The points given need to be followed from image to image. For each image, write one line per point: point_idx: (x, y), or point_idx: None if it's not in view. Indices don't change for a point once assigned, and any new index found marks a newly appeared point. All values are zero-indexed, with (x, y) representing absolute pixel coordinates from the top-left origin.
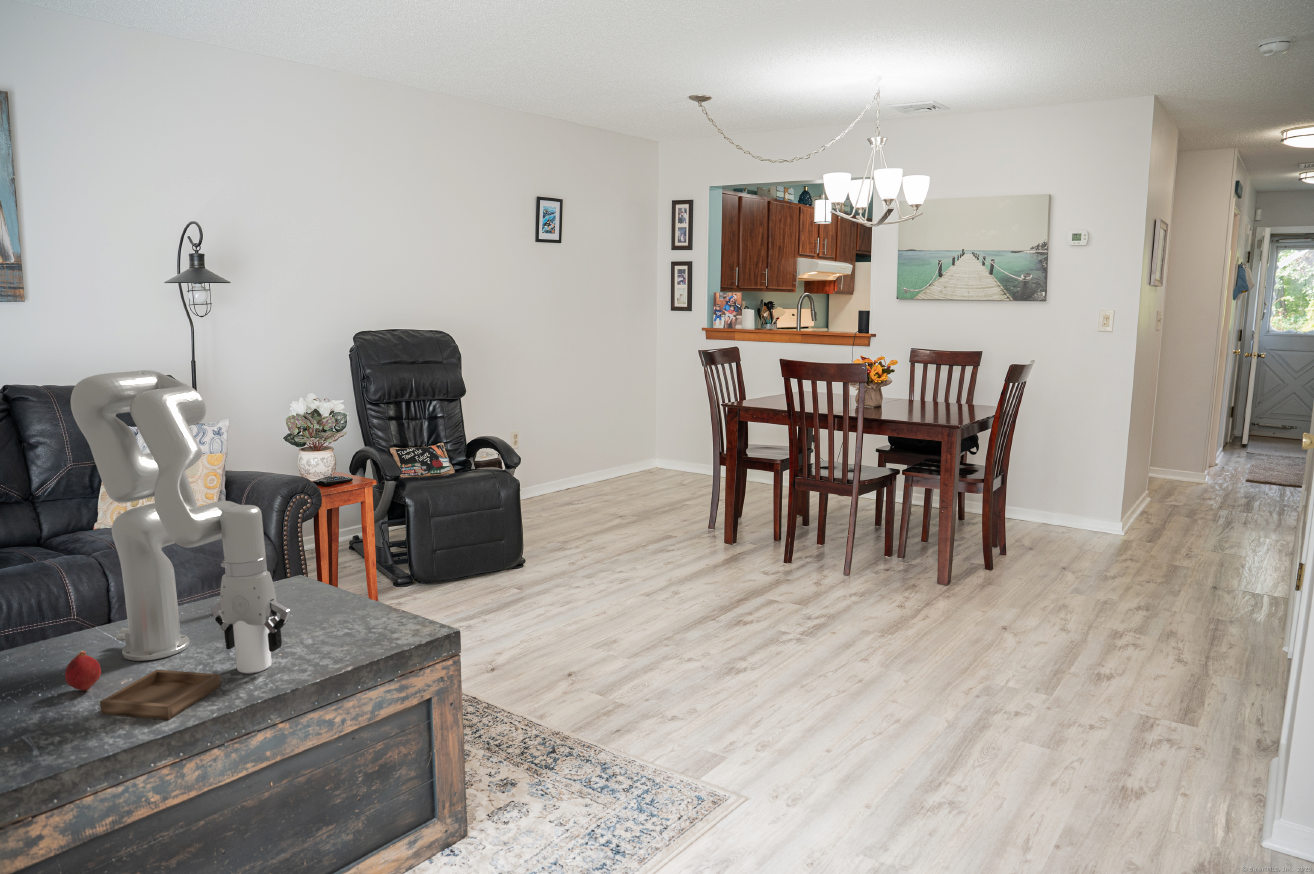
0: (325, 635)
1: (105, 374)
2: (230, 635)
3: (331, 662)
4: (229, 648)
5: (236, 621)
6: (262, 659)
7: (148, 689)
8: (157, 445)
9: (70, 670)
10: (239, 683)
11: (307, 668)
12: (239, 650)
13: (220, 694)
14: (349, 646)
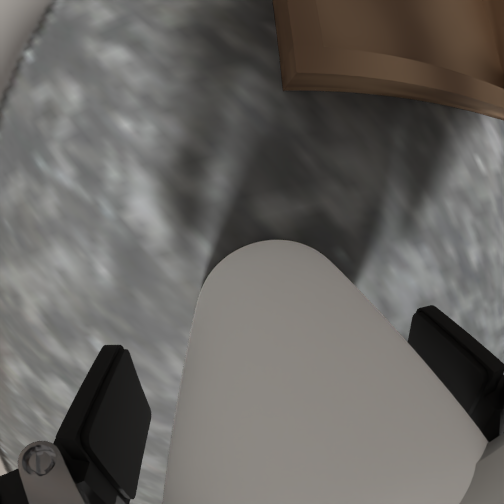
0: None
1: None
2: (456, 371)
3: (44, 389)
4: (417, 311)
5: (470, 497)
6: (194, 316)
7: (486, 41)
8: None
9: None
10: (215, 139)
11: (62, 345)
12: (320, 284)
13: (219, 25)
14: None
